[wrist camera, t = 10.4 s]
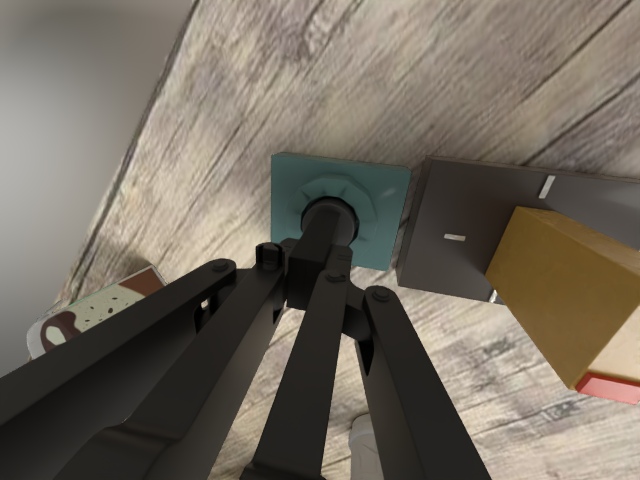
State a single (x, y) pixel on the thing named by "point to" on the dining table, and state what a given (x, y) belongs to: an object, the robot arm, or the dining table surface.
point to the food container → (90, 310)
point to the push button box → (349, 185)
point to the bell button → (346, 217)
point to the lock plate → (499, 218)
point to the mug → (364, 451)
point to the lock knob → (573, 300)
